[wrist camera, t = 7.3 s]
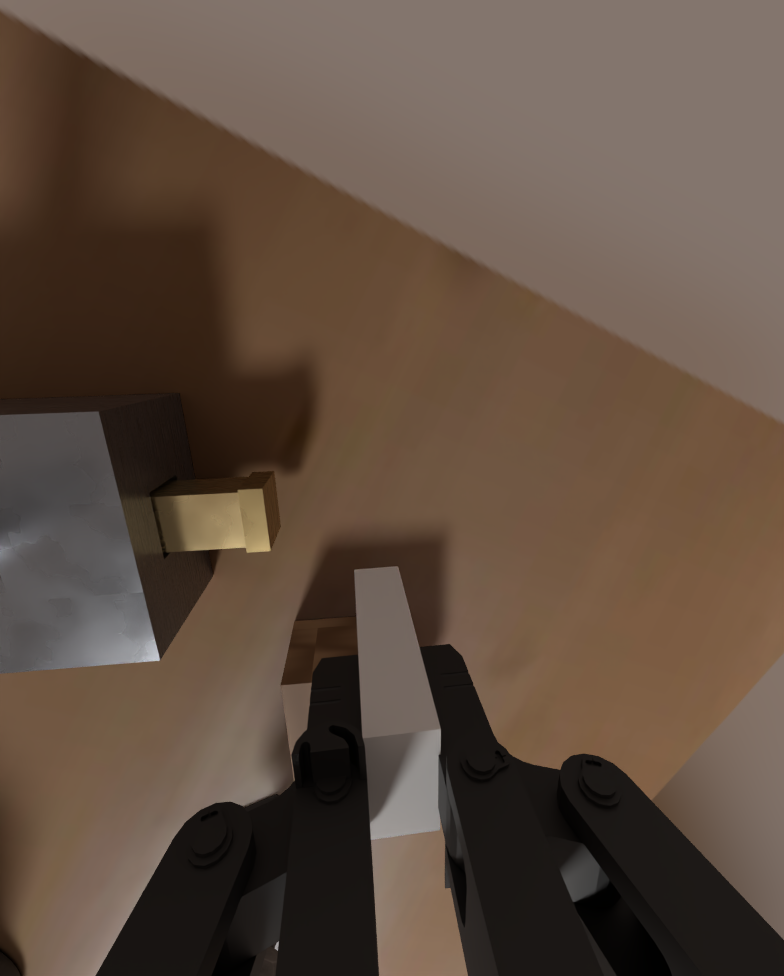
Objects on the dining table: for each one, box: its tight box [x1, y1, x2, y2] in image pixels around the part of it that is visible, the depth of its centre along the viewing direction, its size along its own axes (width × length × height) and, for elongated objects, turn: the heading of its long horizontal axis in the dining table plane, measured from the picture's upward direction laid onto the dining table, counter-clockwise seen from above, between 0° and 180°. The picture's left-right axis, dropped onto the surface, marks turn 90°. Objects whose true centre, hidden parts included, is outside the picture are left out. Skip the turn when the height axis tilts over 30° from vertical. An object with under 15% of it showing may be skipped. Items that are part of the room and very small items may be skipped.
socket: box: [0, 393, 213, 674], centre depth 21 cm, size 12×13×8 cm
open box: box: [281, 616, 358, 781], centre depth 28 cm, size 8×8×6 cm
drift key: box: [149, 471, 281, 553], centre depth 22 cm, size 3×9×3 cm, turn 91°
